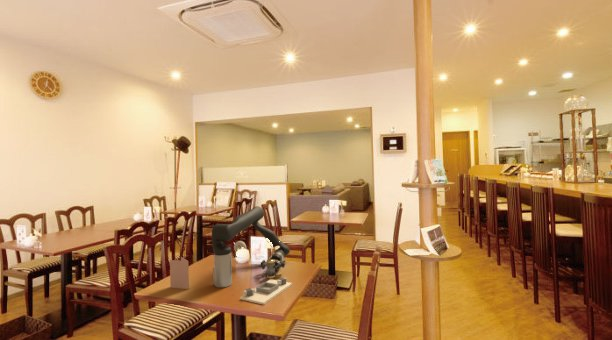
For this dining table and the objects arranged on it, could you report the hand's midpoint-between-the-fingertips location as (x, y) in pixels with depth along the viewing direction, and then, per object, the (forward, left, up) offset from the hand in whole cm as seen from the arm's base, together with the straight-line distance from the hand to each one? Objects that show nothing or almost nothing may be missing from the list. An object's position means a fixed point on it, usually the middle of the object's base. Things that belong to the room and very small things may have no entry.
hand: (270, 267), depth 173 cm
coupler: (-1, +2, -6) cm, 6 cm away
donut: (-49, +32, -6) cm, 58 cm away
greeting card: (-38, -31, -6) cm, 49 cm away
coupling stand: (+9, -16, -6) cm, 20 cm away
